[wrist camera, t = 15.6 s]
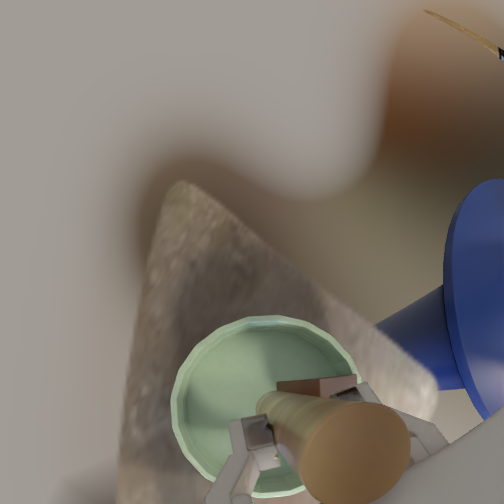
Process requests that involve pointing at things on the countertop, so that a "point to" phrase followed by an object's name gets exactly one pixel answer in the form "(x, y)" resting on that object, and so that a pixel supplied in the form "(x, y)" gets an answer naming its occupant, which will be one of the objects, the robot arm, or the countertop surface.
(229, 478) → the robot arm
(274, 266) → the countertop surface
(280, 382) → the block
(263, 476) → the bowl
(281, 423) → the wooden cylinder
